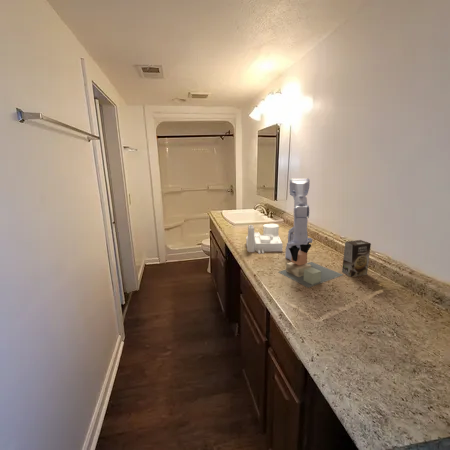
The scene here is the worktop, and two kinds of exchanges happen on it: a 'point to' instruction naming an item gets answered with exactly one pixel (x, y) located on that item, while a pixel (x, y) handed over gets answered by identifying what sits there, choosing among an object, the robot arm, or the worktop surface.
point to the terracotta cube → (300, 258)
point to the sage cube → (312, 275)
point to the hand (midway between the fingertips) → (298, 259)
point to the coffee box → (356, 258)
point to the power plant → (264, 239)
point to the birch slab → (297, 268)
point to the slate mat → (325, 272)
